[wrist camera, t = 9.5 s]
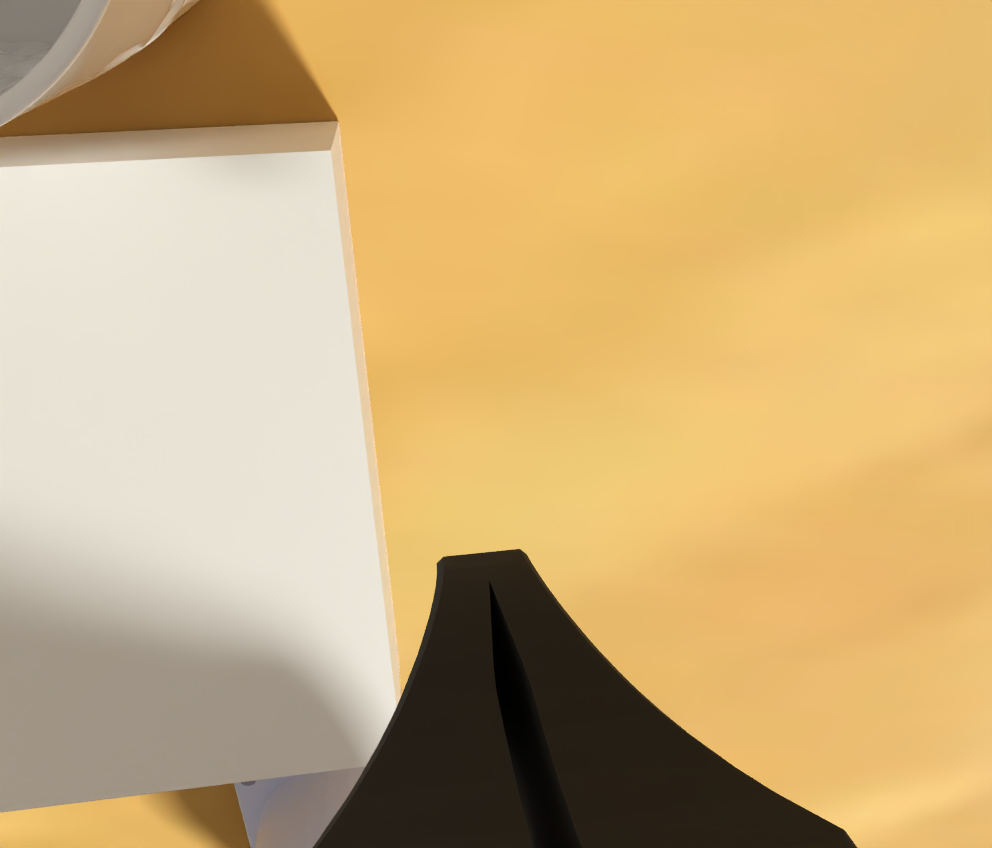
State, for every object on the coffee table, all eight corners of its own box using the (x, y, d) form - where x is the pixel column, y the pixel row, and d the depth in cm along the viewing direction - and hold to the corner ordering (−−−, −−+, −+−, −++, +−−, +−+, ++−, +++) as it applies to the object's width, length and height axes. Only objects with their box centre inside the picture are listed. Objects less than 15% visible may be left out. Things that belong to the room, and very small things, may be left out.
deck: (399, 662, 27) (403, 761, 24) (19, 705, 26) (-36, 817, 23) (338, 121, 19) (330, 150, 16) (-214, 147, 18) (-357, 185, 15)
